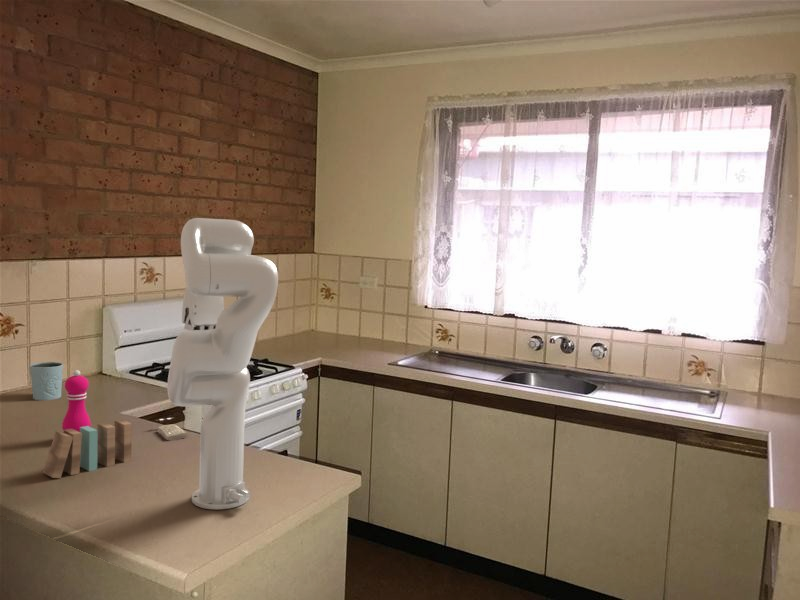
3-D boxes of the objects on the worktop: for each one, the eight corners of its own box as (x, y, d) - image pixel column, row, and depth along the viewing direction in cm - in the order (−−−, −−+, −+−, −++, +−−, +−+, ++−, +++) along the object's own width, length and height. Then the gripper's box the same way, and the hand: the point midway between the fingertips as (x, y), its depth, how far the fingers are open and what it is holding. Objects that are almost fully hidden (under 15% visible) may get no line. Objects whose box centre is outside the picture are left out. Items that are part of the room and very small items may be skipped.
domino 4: (114, 465, 170) (115, 426, 169) (107, 467, 168) (107, 428, 167) (104, 460, 173) (105, 422, 172) (97, 462, 171) (97, 423, 171)
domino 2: (79, 473, 163) (81, 433, 162) (71, 475, 161) (73, 434, 161) (69, 468, 166) (72, 428, 166) (61, 470, 164) (63, 429, 164)
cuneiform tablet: (174, 417, 202) (187, 427, 192) (174, 429, 202) (187, 440, 193) (154, 419, 199) (167, 430, 189) (154, 432, 199) (167, 443, 189)
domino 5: (131, 461, 173) (131, 423, 173) (124, 462, 172) (124, 424, 171) (121, 456, 177) (121, 419, 176) (114, 458, 175) (114, 420, 174)
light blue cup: (64, 400, 229) (65, 366, 228) (31, 403, 223) (31, 368, 222) (60, 394, 237) (60, 360, 236) (27, 396, 231) (27, 362, 230)
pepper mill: (94, 441, 188) (95, 371, 186) (68, 446, 183) (68, 374, 181) (84, 435, 193) (84, 366, 191) (57, 439, 187) (58, 369, 186)
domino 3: (97, 469, 166) (97, 430, 165) (89, 471, 165) (89, 431, 164) (87, 464, 169) (87, 425, 169) (79, 466, 168) (79, 427, 167)
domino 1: (60, 478, 159) (73, 436, 161) (52, 477, 158) (65, 435, 159) (50, 472, 162) (63, 432, 164) (42, 472, 161) (55, 431, 162)
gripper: (220, 279, 180) (218, 346, 182) (170, 280, 169) (169, 352, 170) (237, 281, 176) (235, 350, 177) (187, 283, 164) (186, 356, 166)
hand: (203, 351), depth 174 cm, fingers closed
